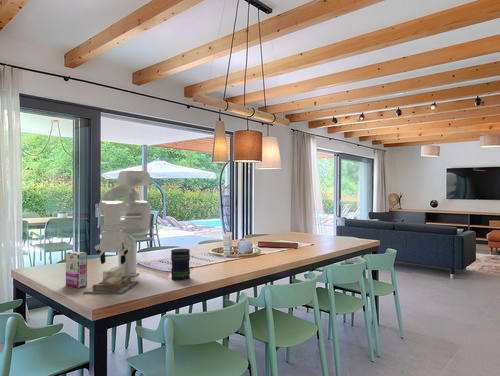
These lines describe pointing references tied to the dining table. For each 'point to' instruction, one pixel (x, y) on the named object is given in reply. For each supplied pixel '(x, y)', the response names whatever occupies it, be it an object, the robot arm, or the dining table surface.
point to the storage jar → (180, 264)
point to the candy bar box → (76, 269)
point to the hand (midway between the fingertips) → (113, 263)
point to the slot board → (112, 287)
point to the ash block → (112, 275)
